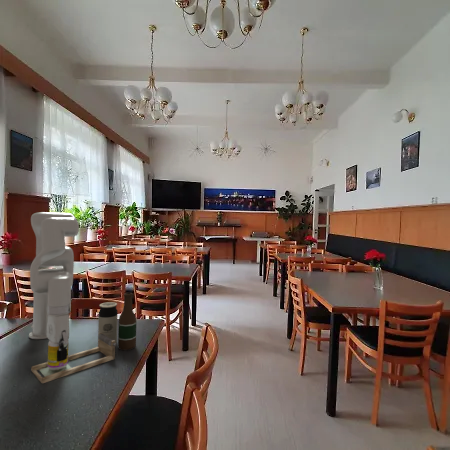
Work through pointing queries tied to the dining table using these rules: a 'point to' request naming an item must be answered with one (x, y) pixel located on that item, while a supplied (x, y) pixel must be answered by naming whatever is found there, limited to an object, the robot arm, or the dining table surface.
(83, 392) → the dining table surface
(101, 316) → the travel mug
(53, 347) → the supplement bottle
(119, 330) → the beer bottle
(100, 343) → the frame
